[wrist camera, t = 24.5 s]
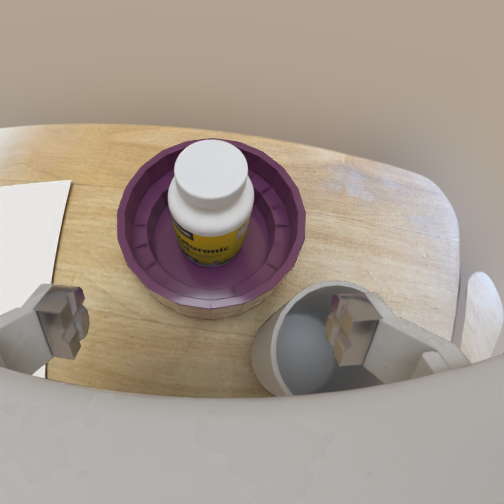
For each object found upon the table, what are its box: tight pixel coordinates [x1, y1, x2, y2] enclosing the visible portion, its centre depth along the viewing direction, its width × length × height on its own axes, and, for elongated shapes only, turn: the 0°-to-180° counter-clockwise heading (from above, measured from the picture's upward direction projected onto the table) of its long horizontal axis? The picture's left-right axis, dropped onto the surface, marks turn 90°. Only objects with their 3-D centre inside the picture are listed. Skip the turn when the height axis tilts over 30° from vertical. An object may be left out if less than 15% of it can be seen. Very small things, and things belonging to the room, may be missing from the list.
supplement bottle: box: [168, 140, 254, 267], centre depth 20 cm, size 5×5×10 cm
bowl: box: [117, 138, 306, 320], centre depth 23 cm, size 13×13×5 cm
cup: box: [251, 280, 385, 397], centre depth 18 cm, size 7×10×9 cm
